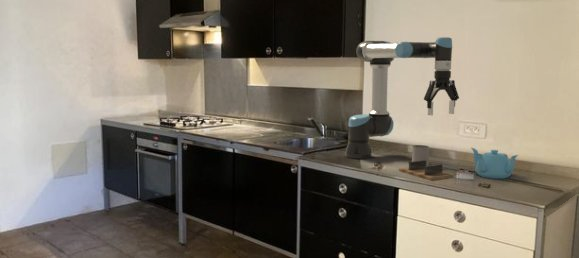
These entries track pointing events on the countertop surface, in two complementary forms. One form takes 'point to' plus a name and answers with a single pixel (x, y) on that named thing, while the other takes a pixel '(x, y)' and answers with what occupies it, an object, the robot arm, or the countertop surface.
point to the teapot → (493, 164)
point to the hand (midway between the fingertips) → (440, 114)
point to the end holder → (426, 170)
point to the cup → (420, 153)
